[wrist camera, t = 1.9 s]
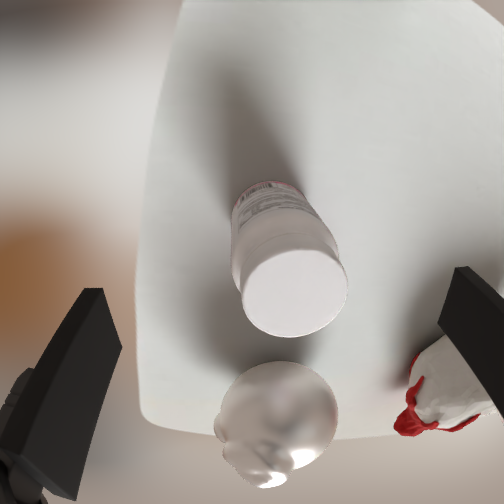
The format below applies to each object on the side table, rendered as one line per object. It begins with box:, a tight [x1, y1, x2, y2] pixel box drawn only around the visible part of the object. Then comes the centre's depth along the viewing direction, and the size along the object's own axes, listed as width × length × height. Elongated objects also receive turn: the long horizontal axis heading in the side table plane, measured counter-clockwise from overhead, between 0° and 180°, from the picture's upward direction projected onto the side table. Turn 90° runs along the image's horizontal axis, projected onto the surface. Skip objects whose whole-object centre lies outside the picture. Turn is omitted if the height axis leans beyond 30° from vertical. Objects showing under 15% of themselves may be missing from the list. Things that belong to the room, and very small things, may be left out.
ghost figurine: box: [214, 361, 338, 488], centre depth 20 cm, size 9×10×10 cm
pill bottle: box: [231, 181, 348, 337], centre depth 15 cm, size 5×5×8 cm
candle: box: [394, 335, 496, 436], centre depth 22 cm, size 9×11×15 cm
